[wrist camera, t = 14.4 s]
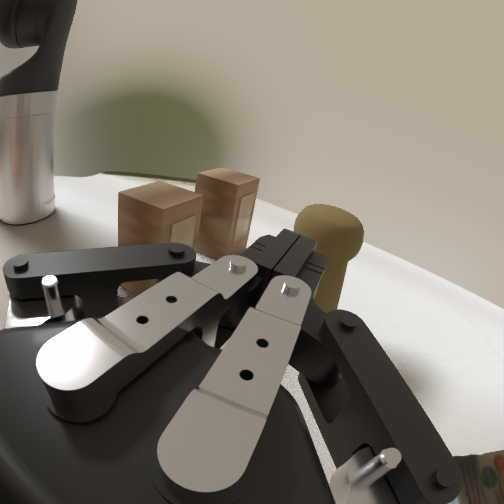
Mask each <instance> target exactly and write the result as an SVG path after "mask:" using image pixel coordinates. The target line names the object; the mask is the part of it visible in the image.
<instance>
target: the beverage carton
mask: <svg viewBox="0 0 504 504" xmlns="http://www.w3.org/2000/svg"><path fill="white" fill-rule="evenodd" d="M453 458H454V460H455V462H456V463H457V465H458V467H459V468H460V471H461V473H462V480H463V483H462V488H461V491H460V493H459V495H458V496H457V498H456V499H455V500H453V501H452V502H450V503H448V504H504V450H501V451H496V452H490V453H485V454H482V455H473V454H471V455H468V456H453Z"/></svg>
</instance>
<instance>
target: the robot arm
mask: <svg viewBox="0 0 504 504" xmlns="http://www.w3.org/2000/svg"><path fill="white" fill-rule="evenodd" d="M76 5H77V0H0V42H1V43H2V44H3V45H4V46H5V47H8V48H24V47H31V46H39V48H38V50H37V52H36V53H35V54H34V55H33V56H32V57H31V58H30V59H29V60H28V61H26V62H25V63H24V64H22V65H21V66H19V67H17V68H15V69H14V70H12V71H10V72H8V73H6V74H4V75H3V76H2V77H1V78H0V220H2V221H3V222H5V223H8V224H25V223H31V222H35V221H38V220H41V219H43V218H45V217H47V216H49V215H50V214H51V213H52V212H53V211H54V210H55V200H54V198H55V195H54V131H55V130H54V129H55V115H56V103H57V93H58V91H56V90H58V85H59V78H60V72H61V67H62V60H63V55H64V51H65V46H66V42H67V38H68V34H69V31H70V27H71V24H72V21H73V17H74V14H75V10H76ZM317 243H318V241H317V240H314V239H312V238H309V237H306V236H304V235H301V234H298V233H295V232H293V231H290V230H287V229H283V230H282V231H281V232H280V233H279V234H278V235H277V236H276V237H274V236H271V235H266V236H262V237H260V238H259V239H257V240H256V241H255V243H253V244H252V245H251V246H250V247H248V248H247V249H246V250H245V251H244V252H243V253H242V254H240V255H239V256H238V255H228V256H224V257H222V258H220V259H218V260H217V261H215V262H214V263H212V264H207V263H203V262H198V261H195V259H196V252H195V250H194V249H193V248H192V247H190V246H188V245H185V244H182V243H160V244H146V245H133V246H120V247H107V248H94V249H82V250H70V251H58V252H47V253H35V254H24V255H19V256H16V257H13V258H11V259H10V260H8V261H7V262H6V263H5V265H4V267H3V273H4V277H5V281H6V284H7V288H8V294H9V298H10V302H9V307H8V312H7V318H6V324H5V329H3V330H0V504H448V503H450V502H452V501H453V500H455V499H456V498H457V496H458V495H459V493H460V491H461V488H462V483H463V480H462V473H461V471H460V468H459V467H458V465H457V463H456V462H455V460H454V458H453V456H452V455H451V453H450V451H449V450H448V448H447V447H446V445H445V443H444V442H443V440H442V438H441V437H440V435H439V433H438V432H437V430H436V429H435V427H434V425H433V424H432V422H431V421H430V419H429V418H428V416H427V414H426V413H425V411H424V410H423V408H422V407H421V405H420V404H419V402H418V400H417V399H416V397H415V396H414V394H413V393H412V391H411V390H410V388H409V387H408V385H407V384H406V382H405V381H404V379H403V378H402V376H401V375H400V373H399V372H398V370H397V369H396V367H395V366H394V364H393V363H392V361H391V360H390V359H389V357H388V356H387V354H386V353H385V351H384V350H383V348H382V347H381V346H380V344H379V343H378V341H377V340H376V338H375V337H374V336H373V334H372V333H371V331H370V330H369V328H368V327H367V326H366V324H365V323H364V322H363V320H362V319H361V318H359V317H358V316H357V315H355V314H353V313H351V312H349V311H345V310H332V311H330V312H328V313H326V312H324V311H323V310H321V309H320V308H319V307H318V306H317V305H316V303H315V302H314V297H315V295H316V293H317V290H318V288H319V285H320V282H321V280H322V277H323V274H324V271H325V269H326V266H327V263H328V262H327V259H326V256H325V255H322V254H319V253H317V252H315V250H316V247H317ZM151 279H156V285H154V286H153V287H151V288H149V289H148V290H146V291H145V292H143V293H141V294H140V295H138V296H130V297H119V296H117V289H118V287H119V286H120V285H121V284H123V283H125V282H132V281H142V280H151ZM288 364H289V365H291V366H292V367H293V368H295V369H296V370H297V371H299V375H298V381H299V384H300V386H301V388H302V391H303V393H304V395H305V397H306V400H307V402H308V404H309V407H310V409H311V411H312V414H313V416H314V418H315V420H316V423H317V425H318V427H319V430H320V432H321V434H322V436H323V439H324V441H325V443H326V445H327V448H328V450H329V452H330V455H331V457H332V459H333V461H334V464H335V466H336V468H337V470H336V471H335V472H334V473H333V475H332V476H331V479H330V487H329V484H328V481H327V479H326V476H325V473H324V471H323V468H322V465H321V463H320V460H319V457H318V455H317V452H316V449H315V446H314V444H313V441H312V438H311V436H310V433H309V430H308V428H307V425H306V422H305V419H304V417H303V414H302V412H301V410H300V408H299V406H298V404H297V402H296V401H295V399H294V398H293V396H292V395H291V394H290V393H289V392H288V391H287V390H286V389H285V388H284V387H283V386H282V385H281V384H280V383H281V381H282V378H283V376H284V373H285V370H286V368H287V365H288Z"/></svg>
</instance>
